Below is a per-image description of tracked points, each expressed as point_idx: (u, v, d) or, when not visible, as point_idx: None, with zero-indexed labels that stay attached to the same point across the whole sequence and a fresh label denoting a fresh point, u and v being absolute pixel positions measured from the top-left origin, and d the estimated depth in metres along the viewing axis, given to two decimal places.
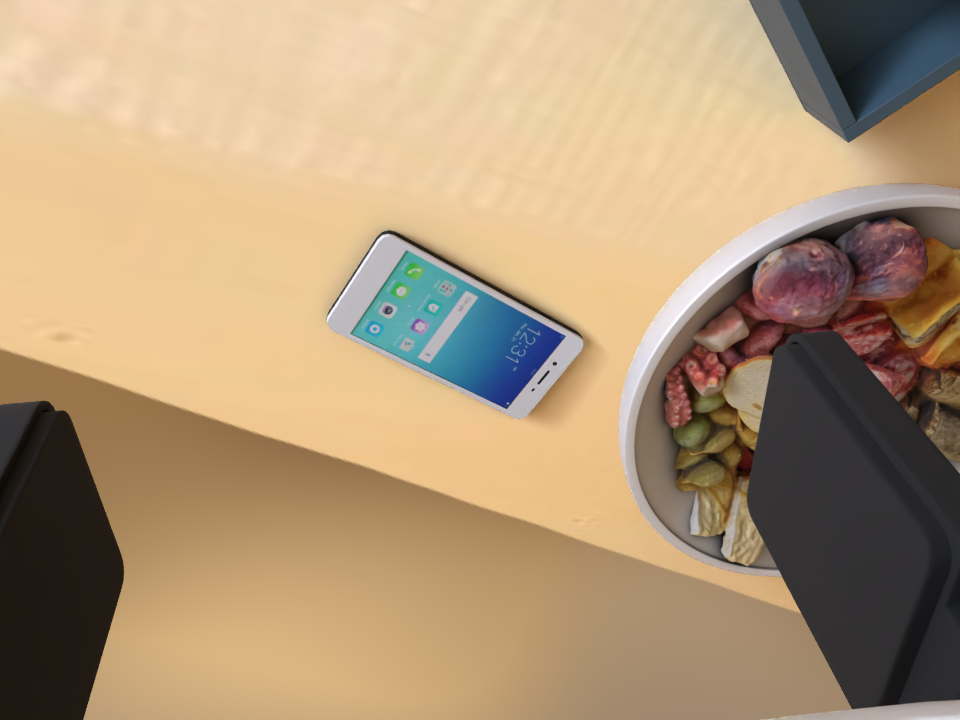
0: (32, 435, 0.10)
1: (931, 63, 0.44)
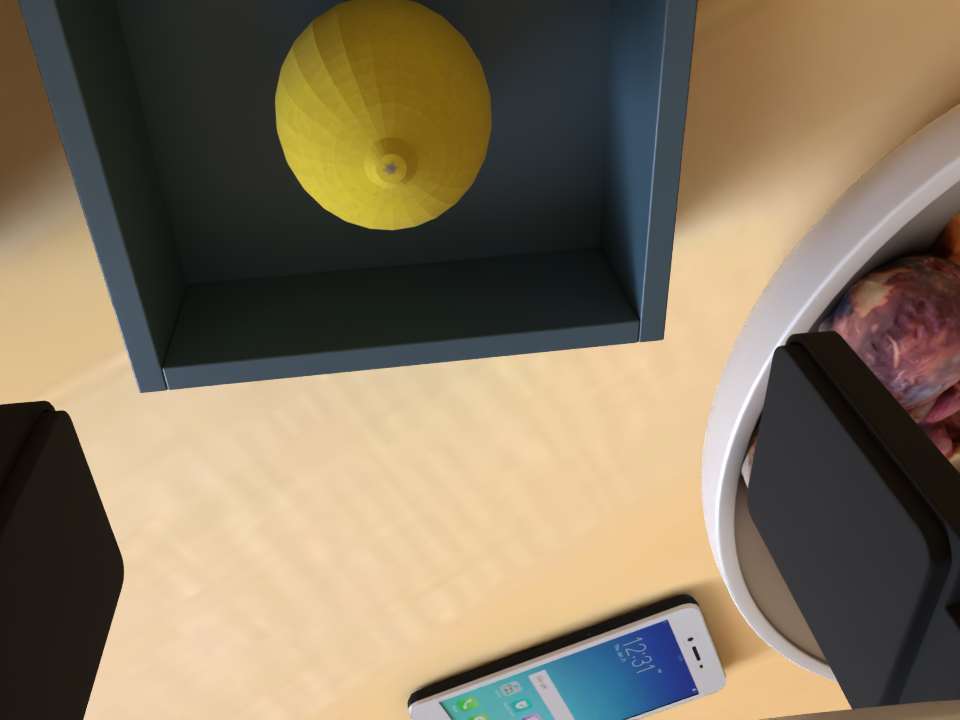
0: (32, 435, 0.10)
1: (644, 170, 0.24)
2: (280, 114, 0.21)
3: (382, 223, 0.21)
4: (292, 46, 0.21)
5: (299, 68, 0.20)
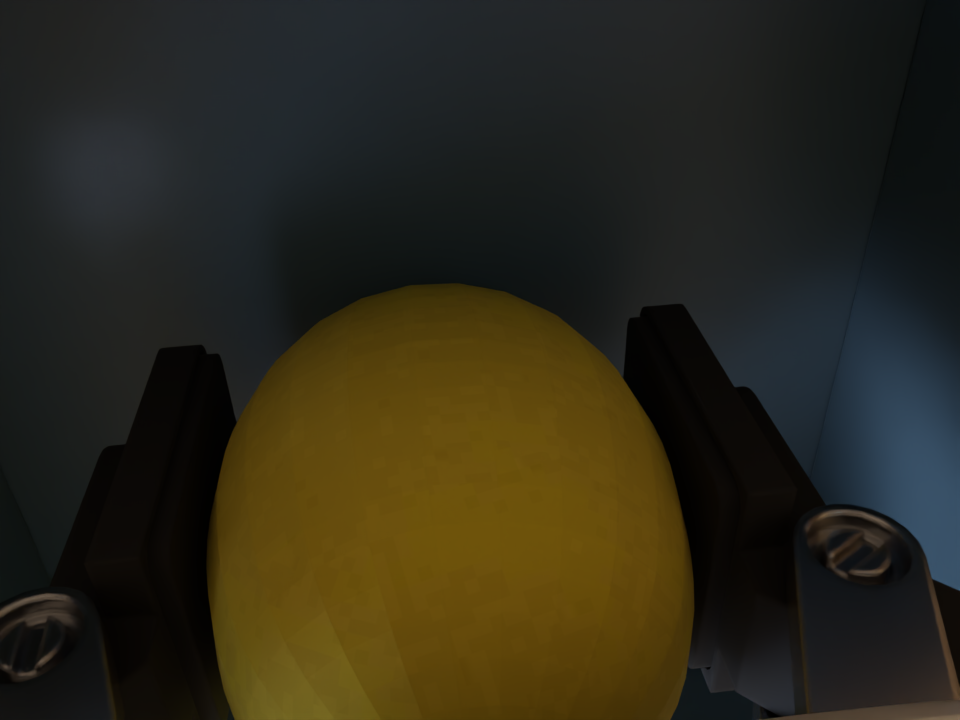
0: (197, 373, 0.11)
1: None
2: (211, 614, 0.09)
3: None
4: (245, 430, 0.09)
5: (254, 543, 0.08)
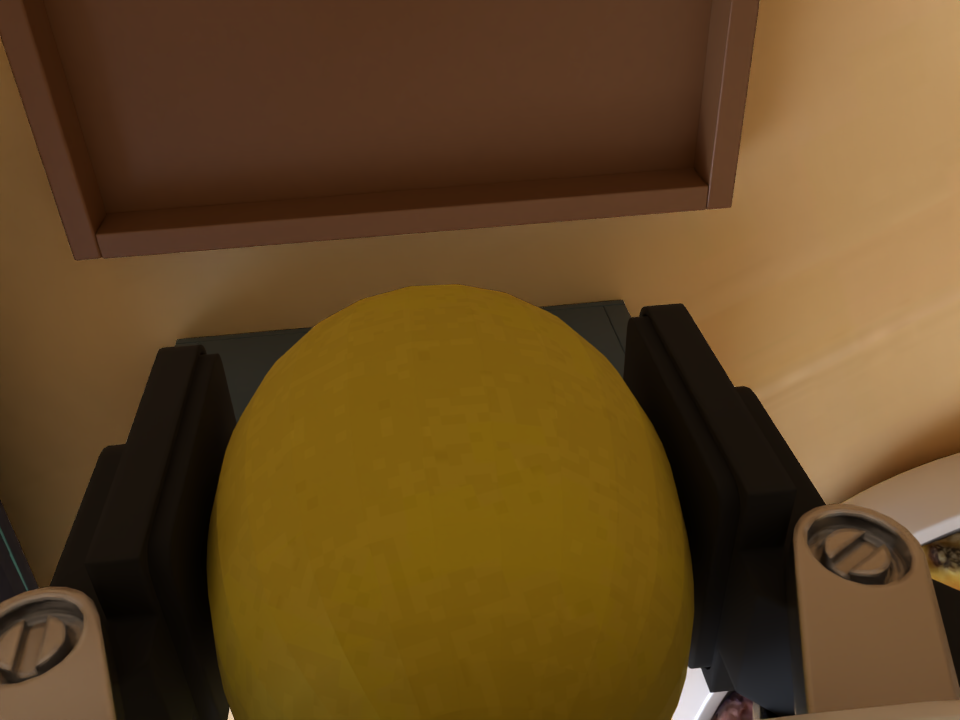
0: (197, 373, 0.11)
1: None
2: (212, 616, 0.09)
3: None
4: (245, 431, 0.09)
5: (254, 545, 0.08)
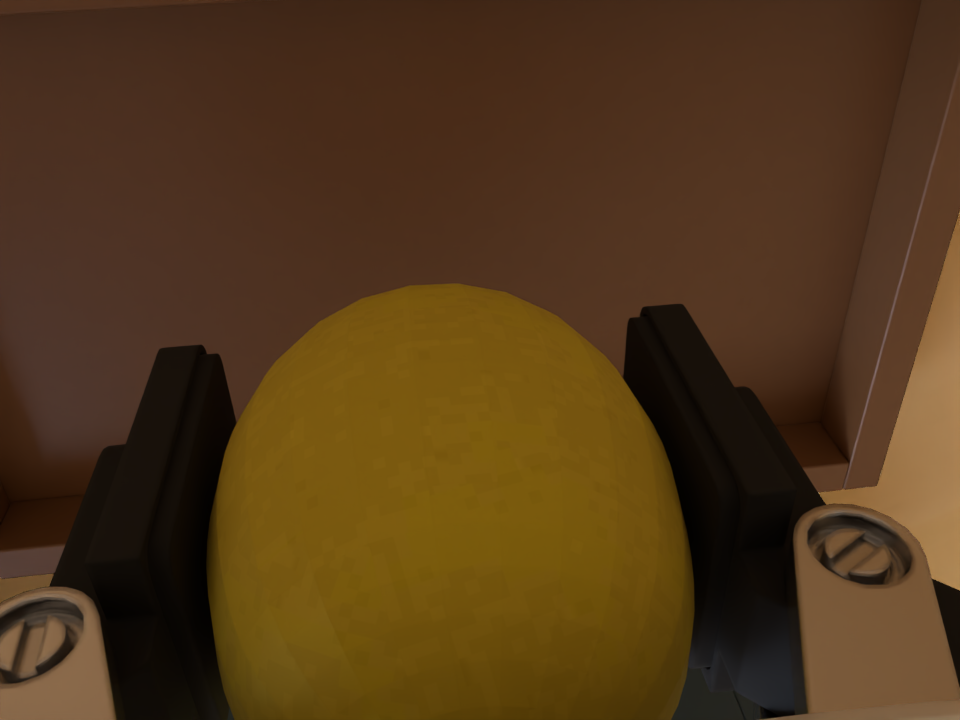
0: (197, 373, 0.11)
1: None
2: (211, 615, 0.09)
3: None
4: (245, 430, 0.09)
5: (254, 543, 0.08)
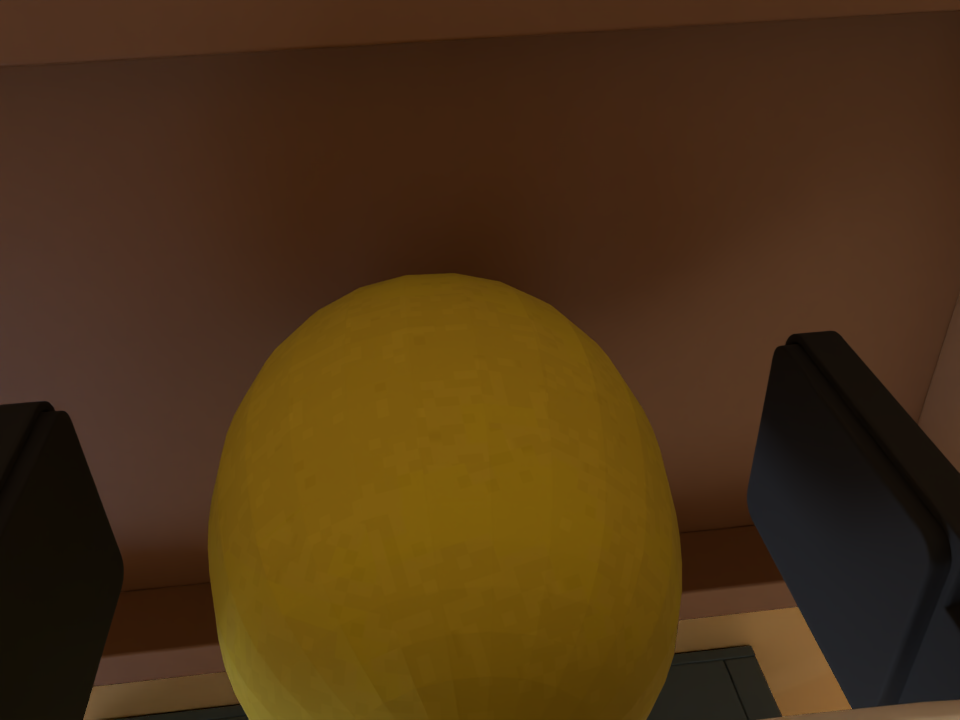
0: (32, 435, 0.10)
1: None
2: (212, 593, 0.09)
3: None
4: (246, 414, 0.10)
5: (254, 522, 0.08)
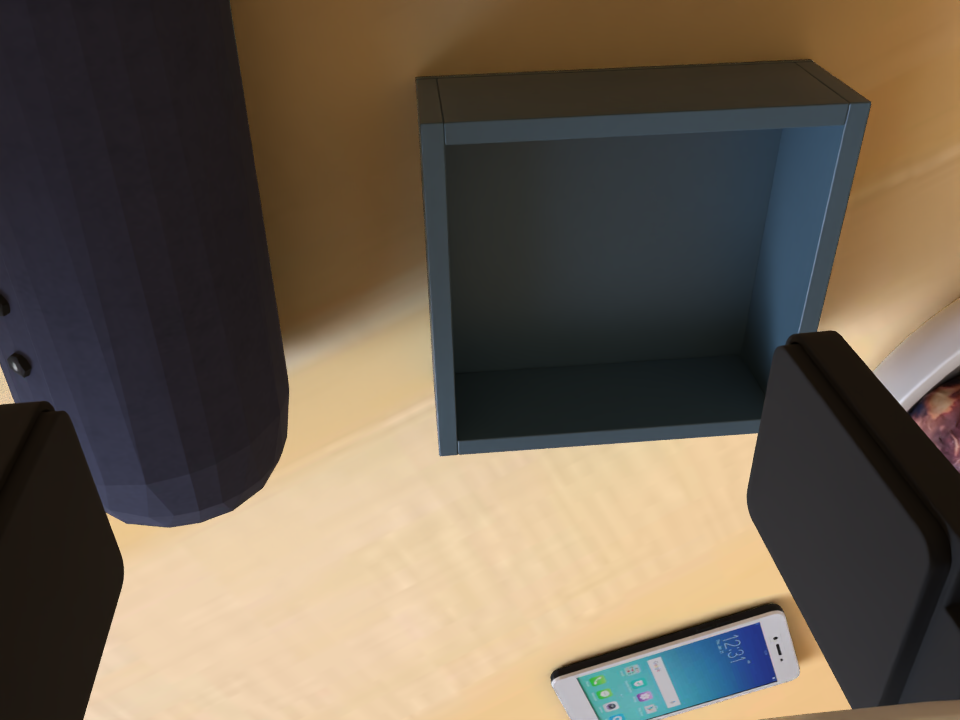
0: (32, 435, 0.10)
1: (792, 322, 0.36)
2: None
3: None
4: None
5: None
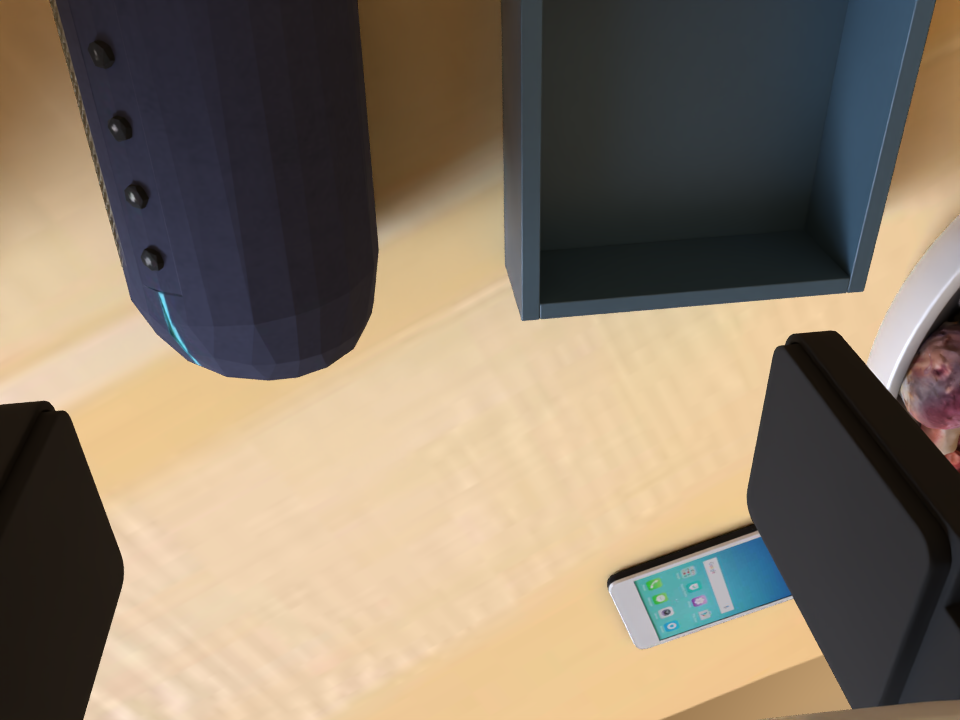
0: (32, 435, 0.10)
1: (865, 177, 0.37)
2: None
3: None
4: None
5: None
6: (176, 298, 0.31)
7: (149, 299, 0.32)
